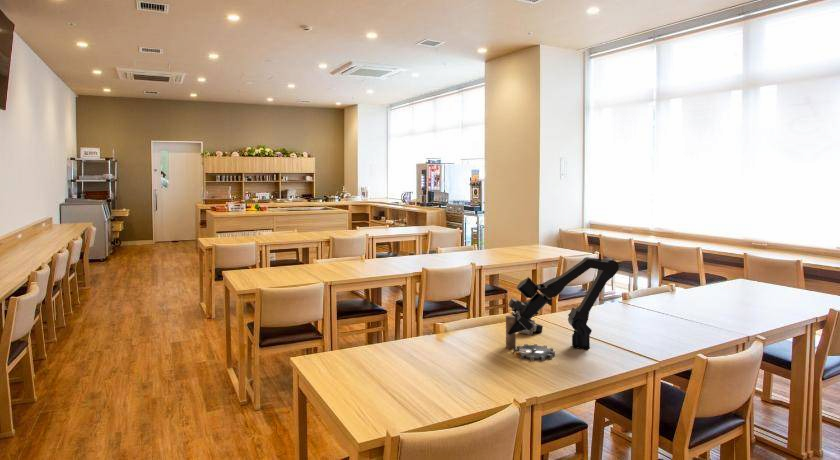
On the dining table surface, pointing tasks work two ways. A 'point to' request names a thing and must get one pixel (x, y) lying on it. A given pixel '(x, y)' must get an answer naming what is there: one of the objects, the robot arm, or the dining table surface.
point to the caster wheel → (535, 328)
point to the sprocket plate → (534, 352)
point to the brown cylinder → (512, 337)
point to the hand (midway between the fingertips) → (507, 332)
